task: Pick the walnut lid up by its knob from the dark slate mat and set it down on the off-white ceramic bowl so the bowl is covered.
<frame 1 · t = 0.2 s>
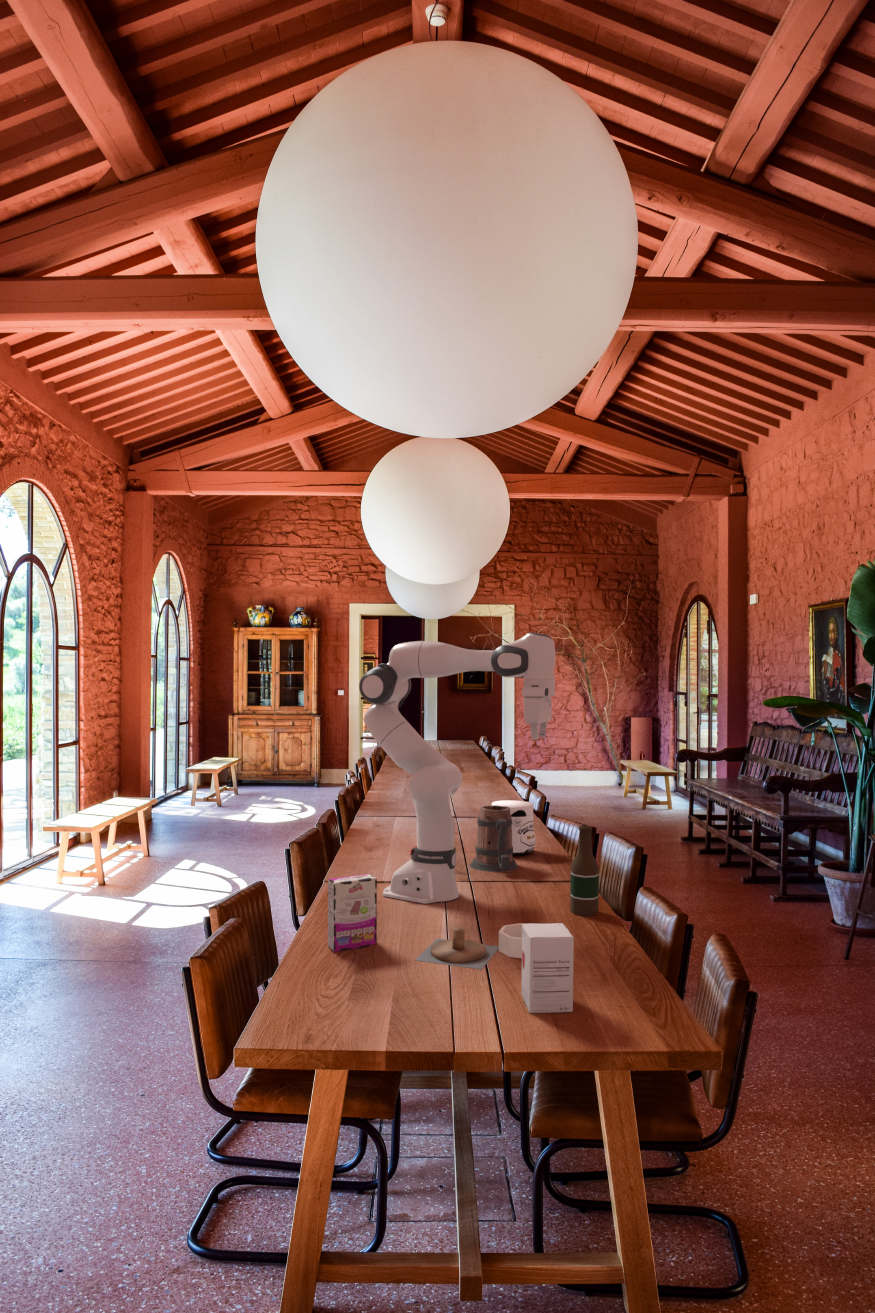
hand: (538, 738, 234), 48 cm above the table, fingers open, 8 cm apart
tankard: (496, 868, 279), on the table
supplement box: (546, 1005, 166), on the table
mat: (458, 955, 193), on the table
beer bottle: (584, 913, 229), on the table
lid: (458, 953, 193), point 1 cm above the table, touching mat
candy bar box: (351, 947, 199), on the table
milk container: (511, 853, 303), on the table
bowl: (524, 952, 196), on the table
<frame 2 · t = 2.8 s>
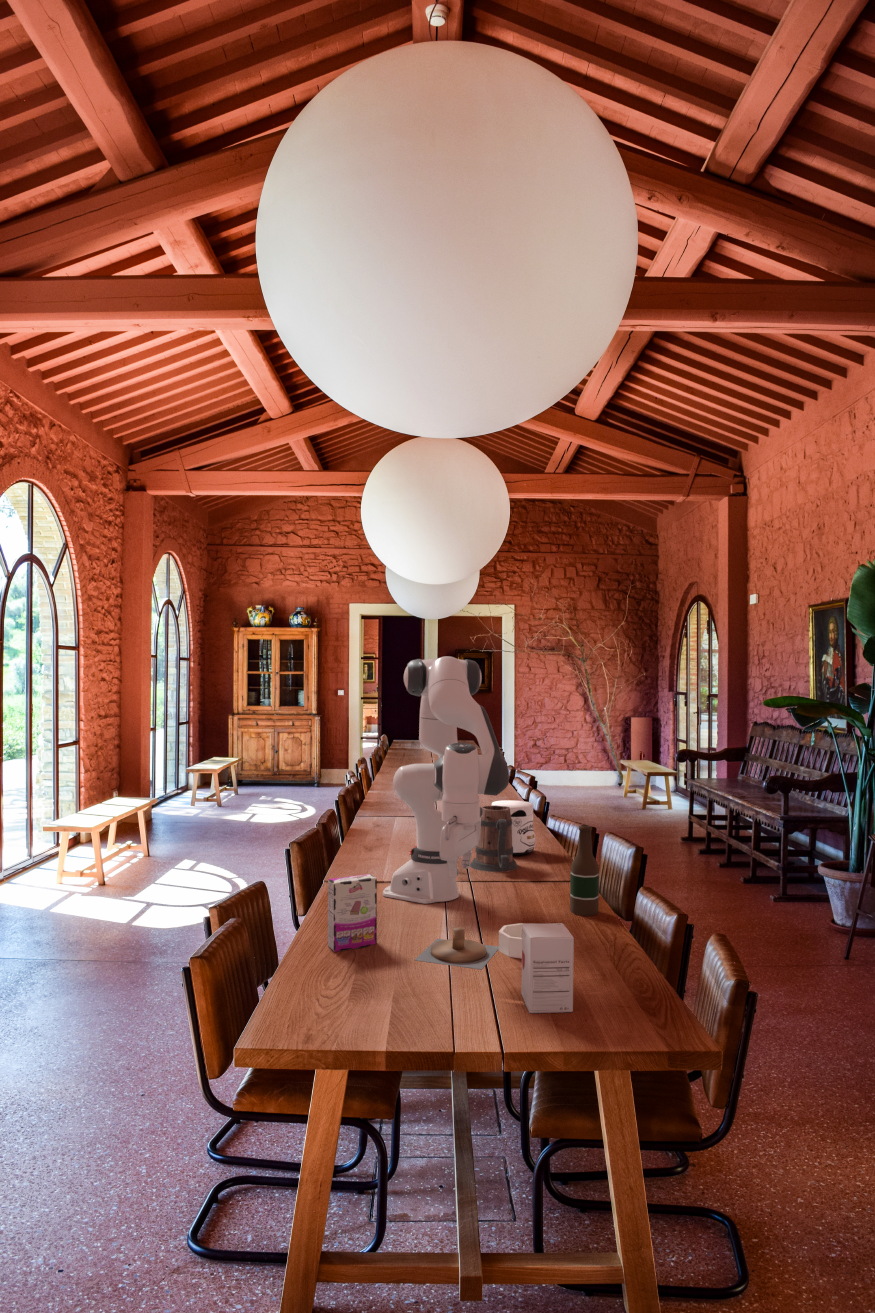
hand: (459, 872, 193), 19 cm above the table, fingers open, 8 cm apart
nothing on the table moved.
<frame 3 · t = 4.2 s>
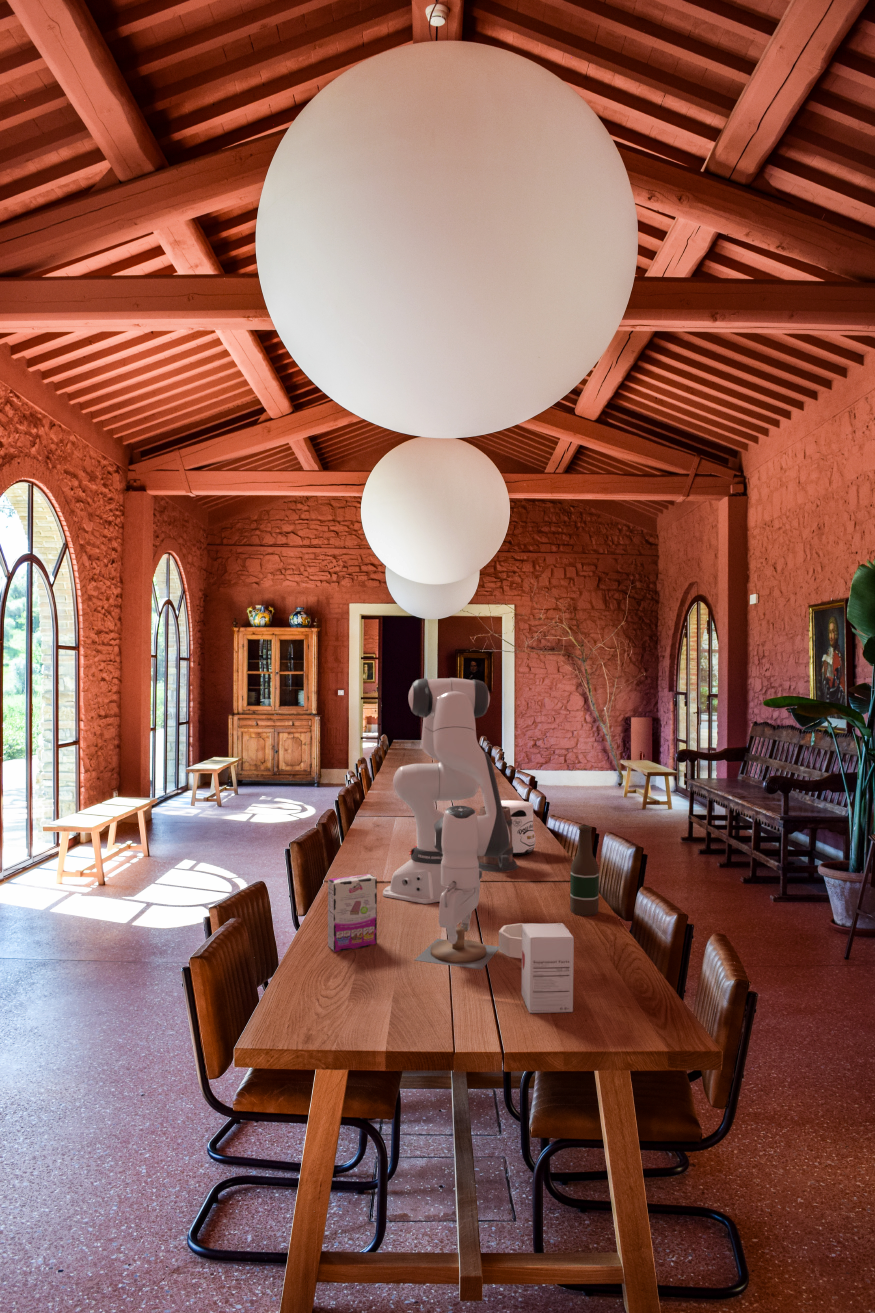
hand: (458, 936, 193), 5 cm above the table, fingers open, 8 cm apart
nothing on the table moved.
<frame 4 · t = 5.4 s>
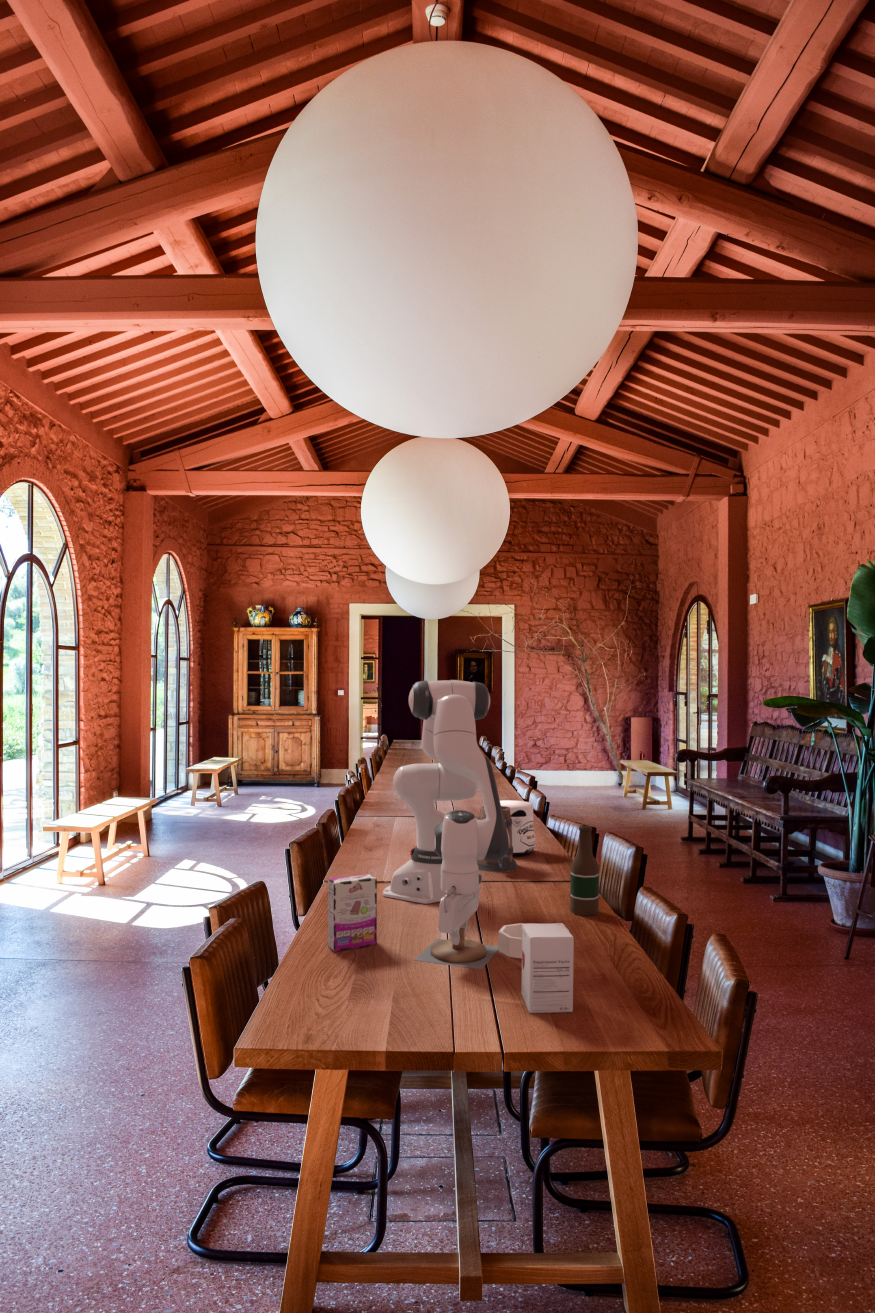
hand: (458, 941, 193), 3 cm above the table, fingers closed on lid, 3 cm apart
lid: (458, 953, 193), point 1 cm above the table, touching gripper, mat
everything else where it was.
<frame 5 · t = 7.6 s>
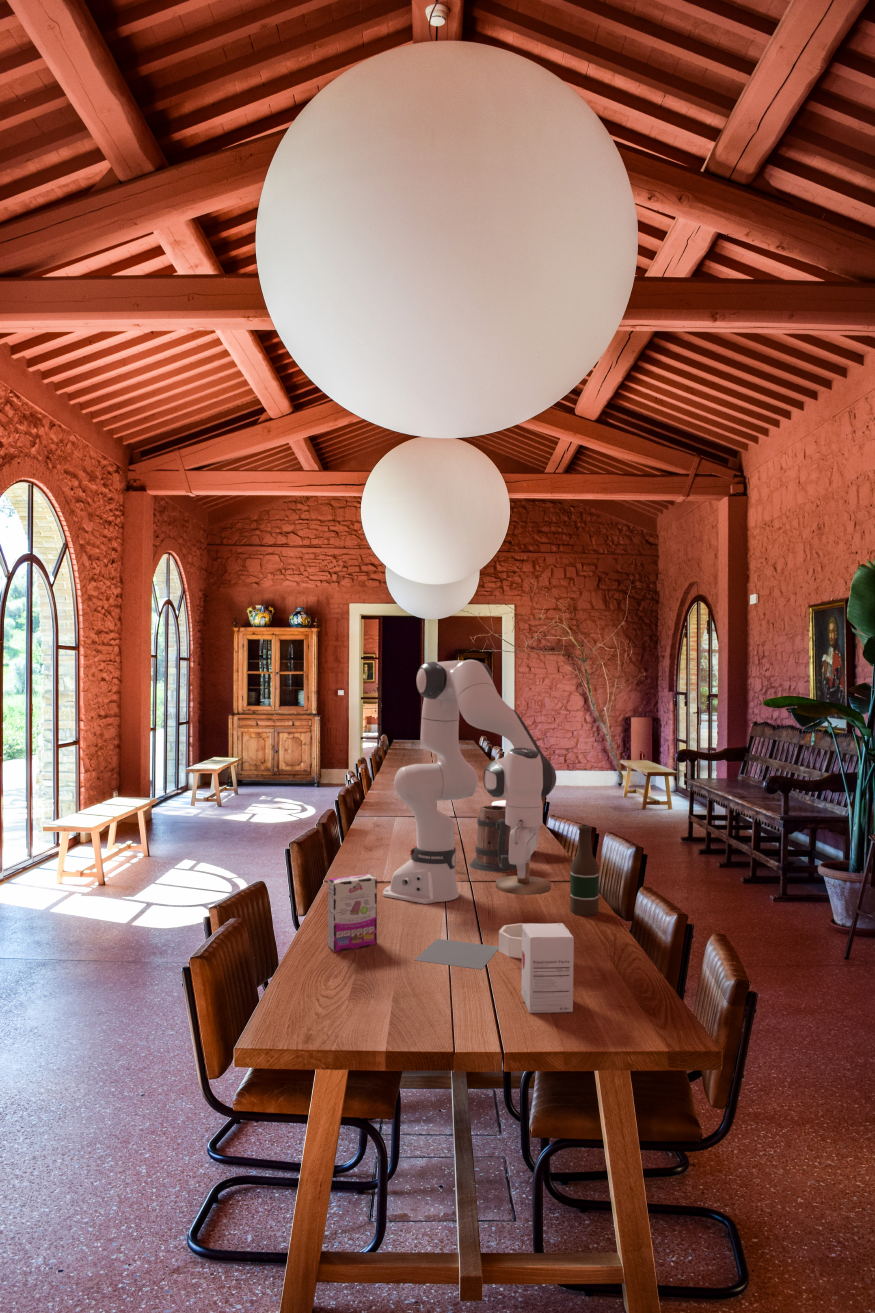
hand: (523, 875, 196), 18 cm above the table, fingers closed on lid, 3 cm apart
lid: (523, 887, 196), point 15 cm above the table, touching gripper
everything else where it was.
when the fingers open (9 cm above the table, at t = 9.9 s): lid drops 2 cm, resting on bowl.
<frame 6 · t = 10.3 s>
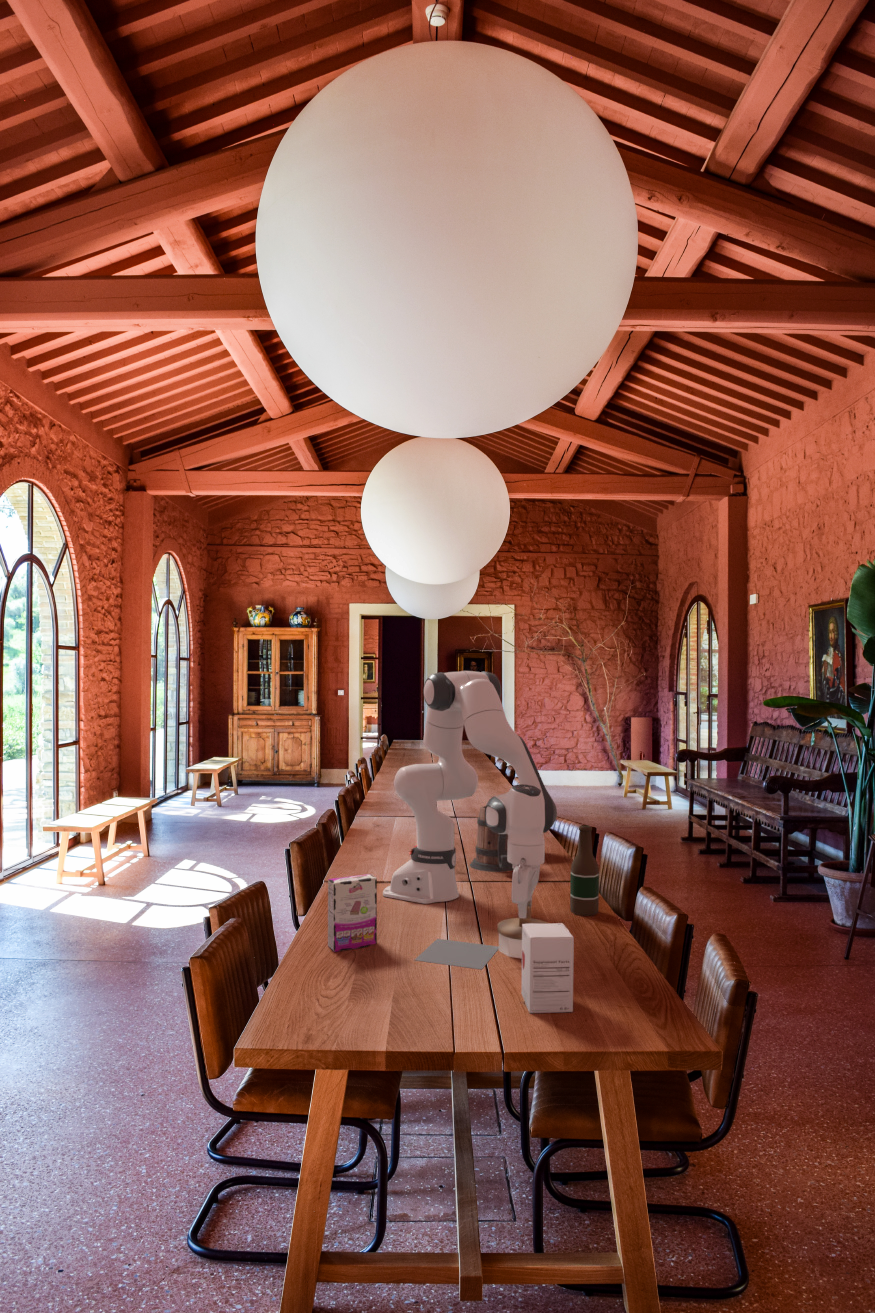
hand: (525, 912, 196), 9 cm above the table, fingers open, 6 cm apart
lid: (524, 931, 196), point 5 cm above the table, touching bowl
everything else where it was.
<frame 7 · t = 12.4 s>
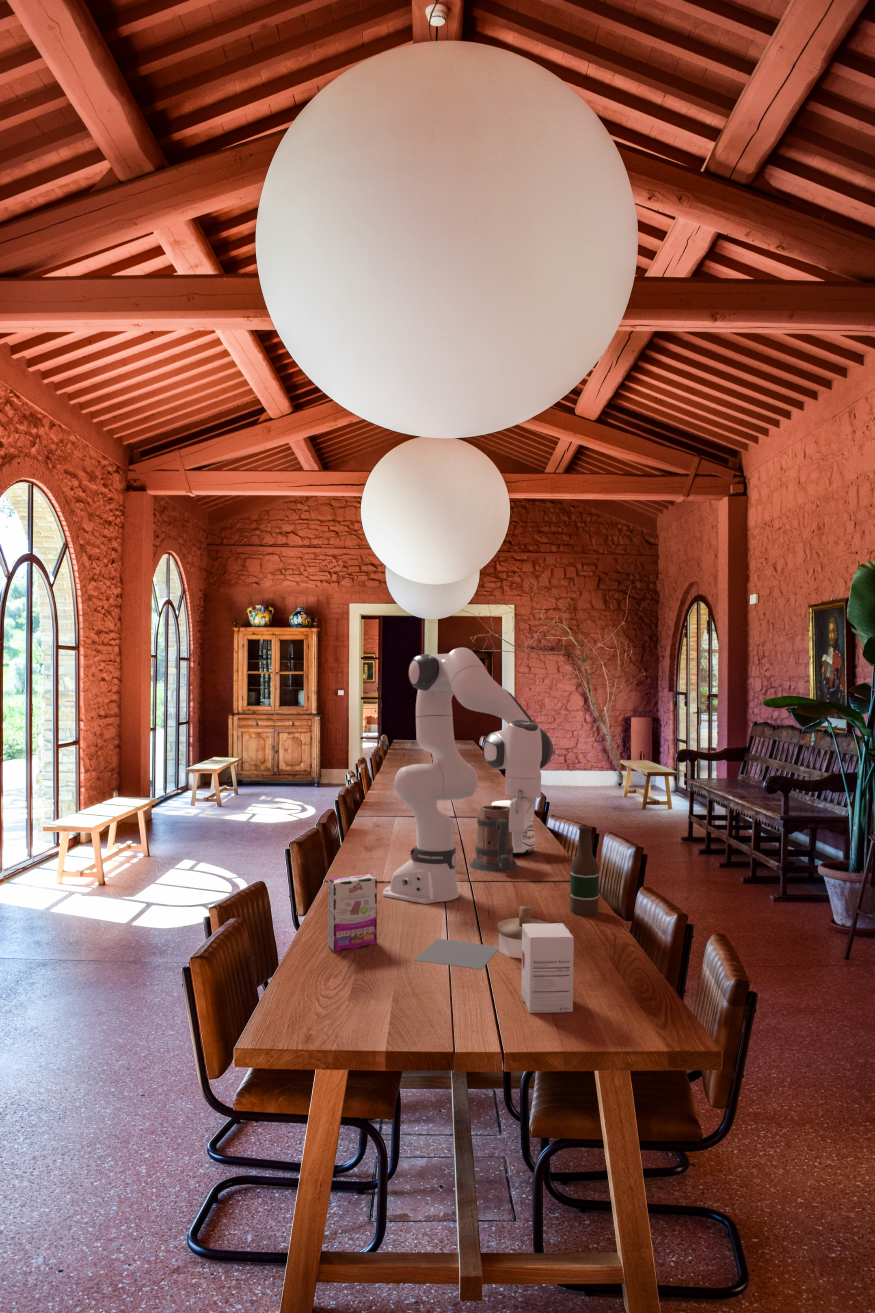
hand: (521, 843, 203), 24 cm above the table, fingers open, 8 cm apart
nothing on the table moved.
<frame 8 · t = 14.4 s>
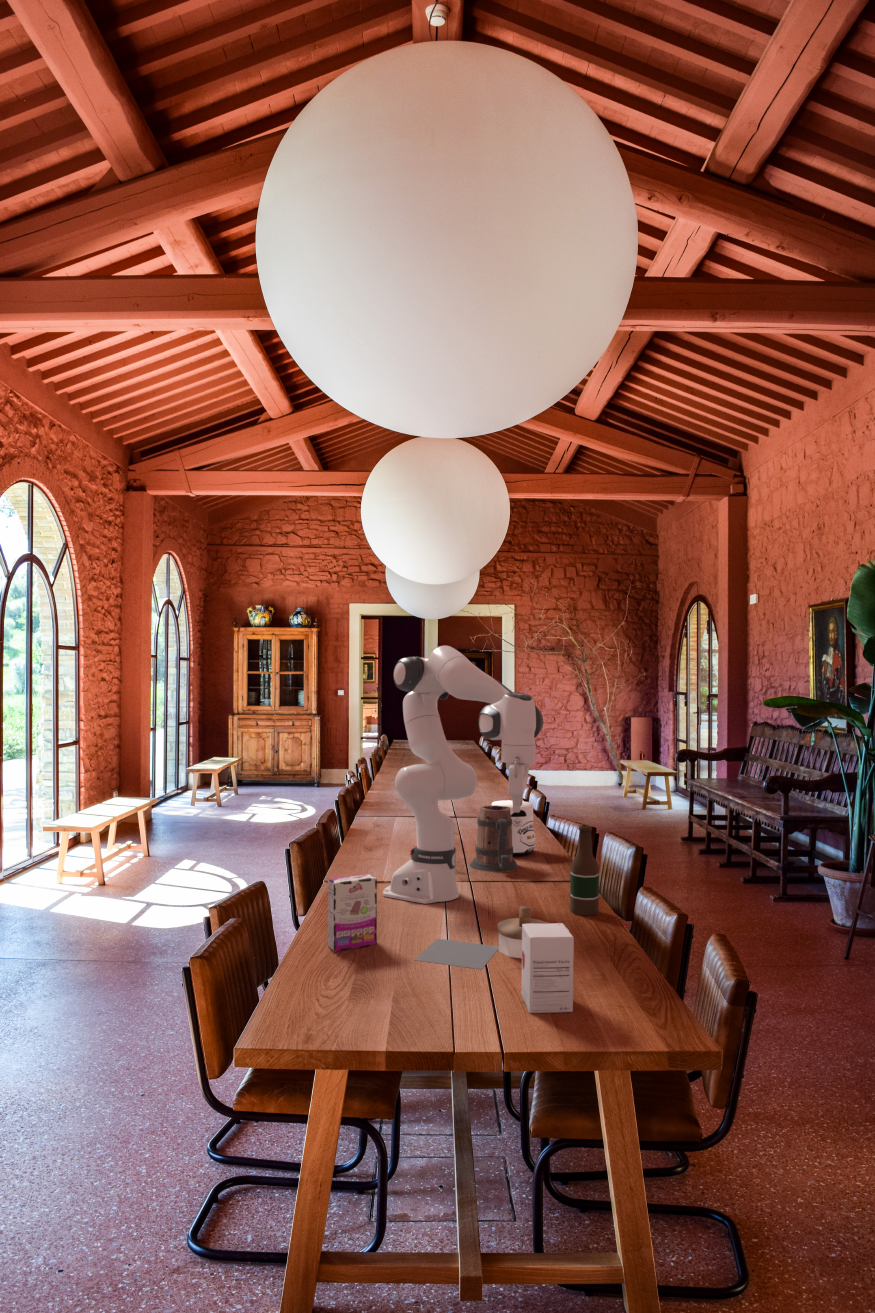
hand: (517, 809, 213), 31 cm above the table, fingers open, 8 cm apart
nothing on the table moved.
at the end: lid 0.1 cm off-centre on the bowl, point 5.0 cm above the bowl's base; lid tilted 0°; the gripper is holding nothing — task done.
